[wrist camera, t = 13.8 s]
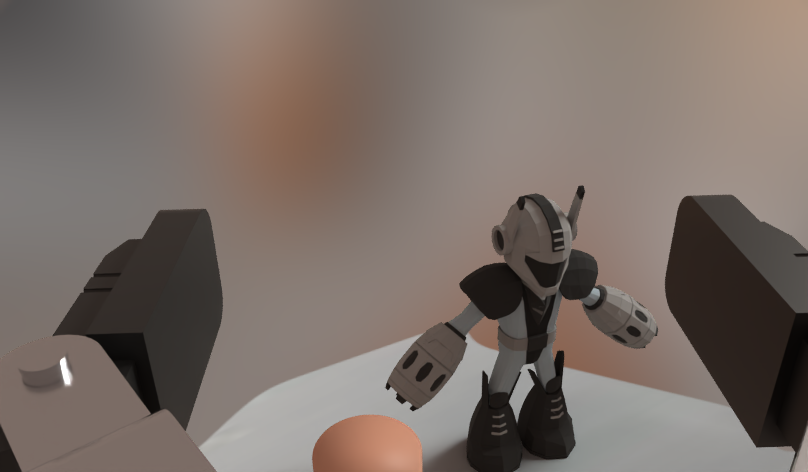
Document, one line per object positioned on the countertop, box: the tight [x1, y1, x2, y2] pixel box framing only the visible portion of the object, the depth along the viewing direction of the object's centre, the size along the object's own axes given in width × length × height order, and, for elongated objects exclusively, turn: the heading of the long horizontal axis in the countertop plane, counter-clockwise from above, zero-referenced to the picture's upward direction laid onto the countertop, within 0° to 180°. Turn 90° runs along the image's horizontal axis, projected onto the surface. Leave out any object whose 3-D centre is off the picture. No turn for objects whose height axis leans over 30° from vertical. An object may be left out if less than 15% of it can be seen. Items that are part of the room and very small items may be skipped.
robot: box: [386, 186, 658, 472], centre depth 46 cm, size 20×5×20 cm, turn 111°
